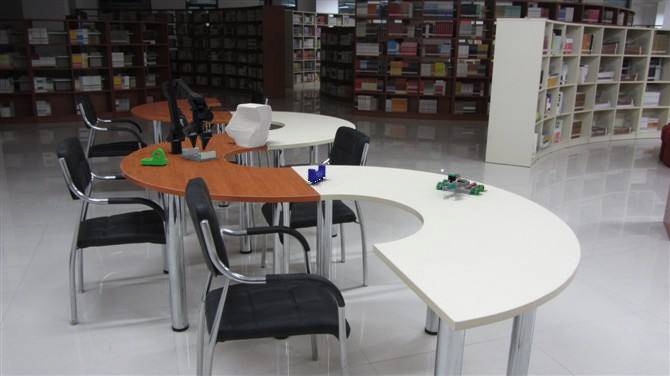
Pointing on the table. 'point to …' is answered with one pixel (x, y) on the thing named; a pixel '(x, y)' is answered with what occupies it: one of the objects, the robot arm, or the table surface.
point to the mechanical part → (155, 158)
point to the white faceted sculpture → (250, 125)
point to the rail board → (198, 154)
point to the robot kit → (459, 185)
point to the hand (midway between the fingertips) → (198, 149)
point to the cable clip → (316, 173)
